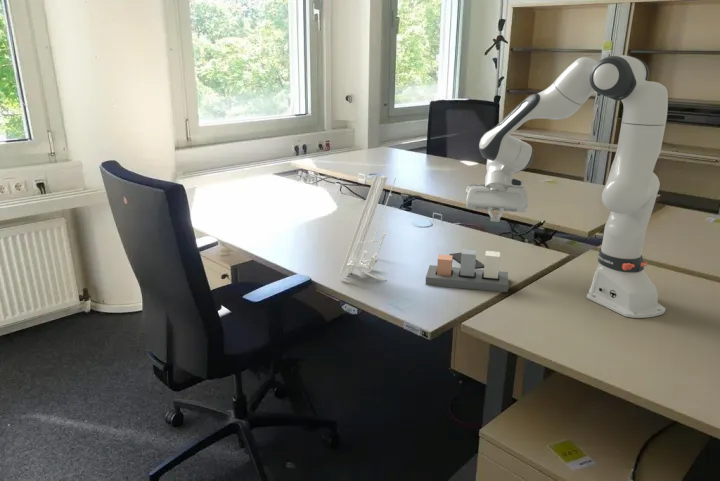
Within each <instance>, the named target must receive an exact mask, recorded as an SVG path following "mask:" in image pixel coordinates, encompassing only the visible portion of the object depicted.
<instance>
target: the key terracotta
mask: <svg viewBox="0 0 720 481" xmlns="http://www.w3.org/2000/svg"><path fill="white" fill-rule="evenodd" d="M453 260H454V259H453V256H451V255H450V254H438V257H437V265H436V266H437V275H442V276H452V267H453Z"/></svg>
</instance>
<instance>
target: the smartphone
mask: <svg viewBox="0 0 720 481" xmlns="http://www.w3.org/2000/svg"><path fill="white" fill-rule="evenodd" d="M461 253H462V251H461V252H455V253H454V252H453V253H450V254H449V255H451V256H453V260H454V261H455V262H457V263H459V264H460V265H461ZM484 266H485V263H484V264H483V263H482V262H481V261H479V260H478V259H476V260H475V269H484Z"/></svg>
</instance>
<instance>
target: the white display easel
mask: <svg viewBox="0 0 720 481" xmlns="http://www.w3.org/2000/svg"><path fill="white" fill-rule="evenodd" d="M387 179H388V176H385V175H374V177H373V180H372V182H371V185H370V188H369V191H368V194H367V197H366V200H365V201H364V202H365V203H364V205H363V207H362V211H361V214H360V216H359V218H358V222H357V224H356V227H355V231H354V234H353V236H352V239H351V242H350V243H349V244H350V245H349V247H348V250H347V253H346V256H345V259H344V262H343V264H342V266H341V268H340V272H339V275H340V276H344V275H346V274H347V275H352V274H353V273H354V270H358V271H359V272H361V273H363V274H366V275H368V276H369V277H370V278H373V279H378V280H382V281H387V278H385V277H379V276H376V275H374V274H371V273H370V271H371V270H372V267H374V265H375V264H376V261H378V259H377V257H378V255H379V251H380V250H381V245H382V244H383V241H384V238H385V236H386V234H387V233H386V232H385V231H384V232H382V236H381V238H380V240H375V238H376V234H377V231H378V228H379V226H380V222H381V221H382V218H383V215H384V212H385V210H386V207H387V204H388V202H389V199H390V197H393V195H392V190H393V189H394V188H393V187H394V185H395V182H396V179H397V178H396V177H395V178H394V180H393V184H392V186H391V189H390V190H389V193H388V197H387V199H386V201H385V202H386V203H385V205H384V207H383V211H382V213H381V216H380V220H379V221H378V224H377V227H376V230H375V232H374V235H373V238H372V240H366V237H367V234H368V232H369V229H370V226H371V223H372V220H373V217H374V216H375V212H376V209H377V207H378V204H379V202H380V199H381V195H382V194H383V191H384V187H385V184H386V182H387ZM375 242H379V247H378V248H377V251H376V253H374V254H373V256H372V255H371V256H370V259H366V260H365V258H366V255H367V253H368V251H366V250H363V251H362V248H363V245H366V243H375ZM361 251H362V255H361V257H360V260H359V261H358V259H359V256H360V254H361ZM357 262H358V264H357ZM365 262H368V263H365ZM363 269H365V270H366V271H365V270H363ZM367 271H368V272H367ZM351 273H352V274H351Z"/></svg>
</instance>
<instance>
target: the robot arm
mask: <svg viewBox="0 0 720 481" xmlns="http://www.w3.org/2000/svg"><path fill="white" fill-rule="evenodd" d="M649 74H650V71H649V67H648V64H647V63H645V62H644V60H642V59H641V58H639V57H637V56H630V55H625V54H623V55H621V54H620V55H610V56H606V57H604V58H602V59H600V60H599V61H597V60H596V59H594V58H592V57H586V56H582V57H579V58H577V59H576V60H575V61H574V62H572V63H571V64H570V65H569V66H568V67H567V68H565V69H564V71H562V72H561V73H560V74H559V76H558V77H557V78H556V79H555V80H554V82H553V83H551V85H549V86H548V87H546V88H545V89H544V90H542V91H540V92H537V93H533V94H530V95H528V96H527V97H526V98H525V99H524V100H522V101H521V102H520V103H519V104H518V105H517V106H515V108H514V109H512V110H511V111H510V112H509V113H508V114H507V115H506V116H505V117H504V118H503V119H502V120H500V121H499V122H498V123H497V124H496V125H495V126H493V127H492V128H491V129H489V130H487V131H486V132H485V133H484V134H483V135H482V136H481V138H480V140H479V144H478V150H479V152H480V155H481V156H482V158H483V159H486V169H485V170H486V173H485V174H486V175H485V177H484V184H481V183H479V184H476V183H472V184H470V185H468V186H467V187H466V191H465V192H466V200H465V207H466V208H467V209H468V210H479V211H487V213H488V215H489V217H490V222H496V223H497V222H498V223H499V222H500V221H501V218H502V217H503V215H504V212H506V213H507V212H508V213H520V214H521V213H526V211H528V207H529V206H528V205H529V200H528V199H529V197H528V193H527V191H526V189H525V187H526V185H525V184H526V182H525V181H523V180H521V179H517V178H514V177H512V175H513V174H517V173H519V172H522V171H524V170H526V169H527V168H529V167H530V165H532V163H533V159H534V149H533V146H532V145H531V144H529V143H528V142H526V141H523V140H521V139H519V138H516V137H514V136H512V134H513V133H514V132H515V131H516V130H517V129H519V127H521V126H522V125H523V124H525V123H526V122H528V121H530V120H531V121H532V120H536V119H545V120H546V119H547V120H552V121H553V120H563V119H568V118H570V117H572V116H573V115H574V114H575V113H577V112H578V111H579V110H580V108H581V107H582V106H583V105H584V104H585V103H586V102H587V100H588V99H589V98H590V97H591V96H592V95H593V94H594V93H597V94H598V95H600V96H603V97H606V98H608V99H611V100H614V101H617V102H619V101H620V102H621V103H622V105H623V110H622V117H621V123H620V130H619V135H618V141H617V146H616V152H615V155H614V158H613V161H612V163H611V166H610V170H609V174H608V176H607V180H606V183H605V186H604V187H603V190H602V193H601V201H602V203H603V206H604V207H605V208H606V209H607V210H609V211H610V213H609V215H608V218H607V221H606V223H605V225H604V228H603V229H604V230H603V237H602V242H601V248H600V249H599V251H598V255H597V256H598V257H597V262H598V265H597V267H596V269H595V272H594V275H593V278H592V282H591V285H590V288H589V289H588V293H587V294H586V299H588V300H590V301H592V302H595V303H597V304H598V305H601V306H602V307H604V308H607V309H609V310H611V311H613V312H615V313H617V314H620V315H622V316H624V317H626V318H635V319H642V318H643V319H644V318H645V319H646V318H653V317H658V316H661V315H663V314H664V313H666V307H664V306H663V305H661V303H659V302H658V300H659V293H658V292H659V291H658V289H657V288H656V285H655V283H653V282H652V280H651V279H650V277H649V276H648V274H647V273H646V271H645V267H647V266H648V262H646V261H645V262H644V259H643V258H644V257H643V255H642V252H643V248H644V243H645V238H646V232H647V228H648V225H649V223H650V220H651V216H652V213H653V210H654V206H655V204H656V199H657V195H658V192H659V190H660V185H661V184H660V183H661V182H660V180H659V177H658V176H657V174H656V173H655V172H654V170H655V167H656V164H657V161H658V158H659V157H660V154H661V151H662V146H663V140H664V135H665V130H666V124H667V118H668V108H669V105H668V104H669V103H668V102H669V96H668V95H669V94H668V89H667V87H666V86H665V85H664V84H661V83H660V82H658V81H653V80H652V81H649V76H650V75H649ZM494 211H495V212H498V214H493V212H494Z"/></svg>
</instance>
